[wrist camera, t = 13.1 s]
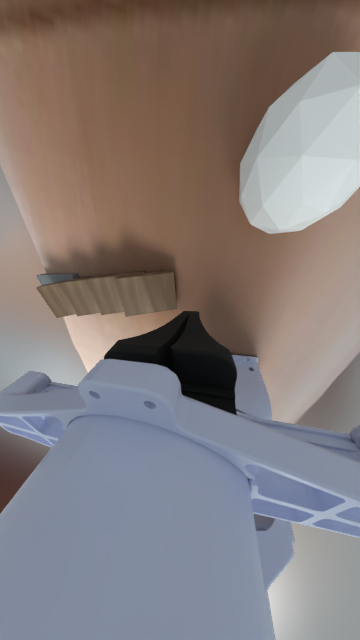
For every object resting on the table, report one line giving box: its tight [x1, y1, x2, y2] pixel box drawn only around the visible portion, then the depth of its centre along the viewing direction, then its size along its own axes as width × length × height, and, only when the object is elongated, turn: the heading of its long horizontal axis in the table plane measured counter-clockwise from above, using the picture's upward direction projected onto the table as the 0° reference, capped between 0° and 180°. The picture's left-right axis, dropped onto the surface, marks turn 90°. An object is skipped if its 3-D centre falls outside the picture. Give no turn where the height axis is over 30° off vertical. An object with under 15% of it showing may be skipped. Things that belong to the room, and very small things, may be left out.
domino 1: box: [37, 273, 79, 285], centre depth 24 cm, size 2×5×7 cm
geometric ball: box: [239, 52, 360, 234], centre depth 10 cm, size 8×8×8 cm
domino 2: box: [37, 276, 90, 318], centre depth 22 cm, size 2×5×7 cm
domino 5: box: [115, 270, 177, 317], centre depth 19 cm, size 2×5×7 cm
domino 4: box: [87, 271, 145, 315], centre depth 20 cm, size 2×5×7 cm
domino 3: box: [61, 277, 101, 316], centre depth 21 cm, size 2×5×7 cm
